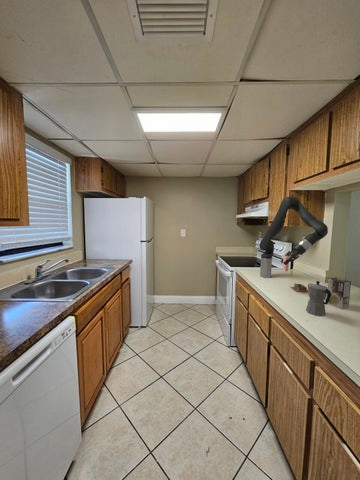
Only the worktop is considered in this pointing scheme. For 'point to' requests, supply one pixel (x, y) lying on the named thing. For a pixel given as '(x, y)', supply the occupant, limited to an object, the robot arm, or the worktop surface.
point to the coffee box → (339, 292)
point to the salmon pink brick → (285, 267)
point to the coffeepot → (317, 299)
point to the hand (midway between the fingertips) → (282, 263)
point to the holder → (299, 288)
